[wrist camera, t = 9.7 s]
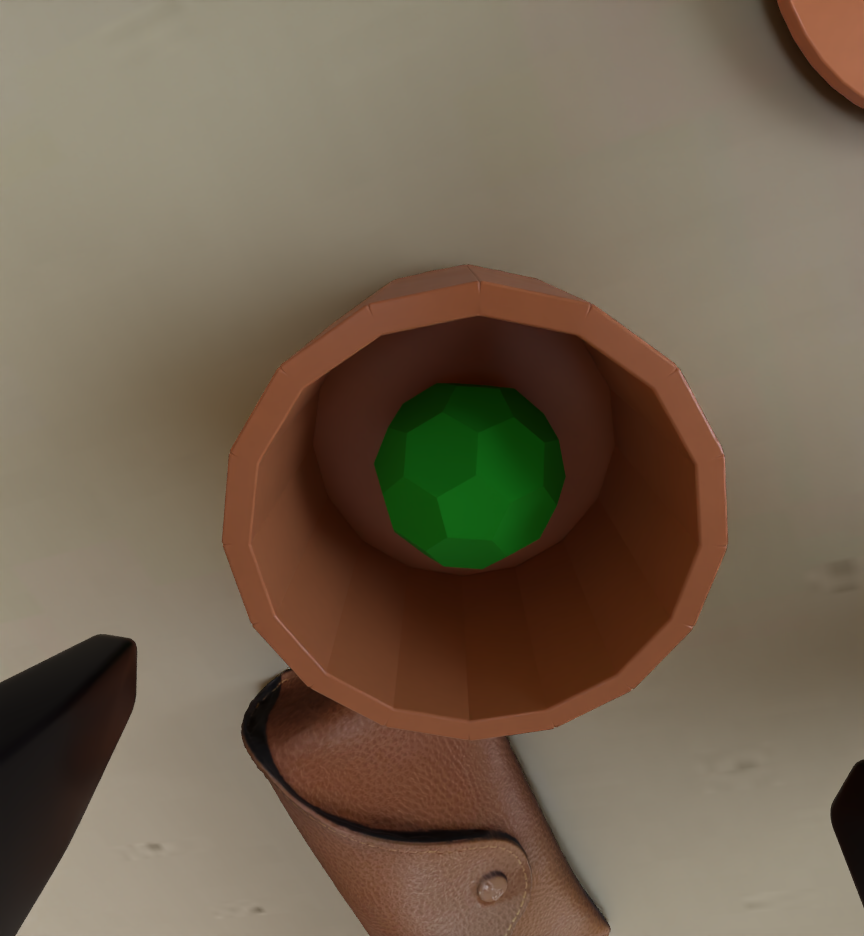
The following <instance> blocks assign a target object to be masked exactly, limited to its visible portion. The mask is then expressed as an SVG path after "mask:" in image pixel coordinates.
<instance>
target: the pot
mask: <svg viewBox="0 0 864 936" xmlns="http://www.w3.org/2000/svg"><path fill="white" fill-rule="evenodd" d="M436 383H461V384H475V385H489V386H498V387H506V388H514V389H516V390H517V391H518V392H519V393H520V394H522V395H523V396H524V397H525V398H526V399H527V400H529V401H530V402H531V403H532V404H533V405H534V406H536V407H537V408H538V409H539V410H540V411H541V412H543V413H544V415H545V416H546V418H547V420H548V422H549V423H550V425H551V427H552V429H553V430H554V432H555V434H556V436H557V437H558V439H559V443H560V449H561V454H562V459H563V465H564V470H565V475H566V478H565V481H564V484H563V488H562V491H561V494H560V497H559V501H558V504H557V507H556V509H555V510H554V512H553V514H552V516H551V518H550V520H549V522H548V524H547V526H546V528H545V530H544V531H543V533H542V535H541V537H540V539H538V540H536V541H535V542H533V543H531V544H529V545H527V546H526V547H524V548H522V549H520V550H518V551H517V552H515V553H513V554H511V555H509V556H508V557H506V558H504V559H502V560H500V561H498V562H496V563H494V564H492V565H490V566H488V567H486V568H484V569H471V568H456V567H444V566H442V565H441V564H439V563H437V562H436V561H434V560H433V559H431V558H429V557H428V556H426V555H425V554H423V553H422V552H420V551H419V550H418V549H416V548H415V547H414V546H412V545H411V544H410V543H408V542H407V541H406V540H404V539H403V538H402V537H400V536H399V535H398V534H396V533H395V532H394V530H393V527H392V524H391V520H390V517H389V514H388V511H387V507H386V504H385V501H384V497H383V494H382V491H381V487H380V484H379V480H378V477H377V473H376V470H375V466H374V462H375V459H376V456H377V454H378V451H379V449H380V446H381V444H382V441H383V439H384V436H385V434H386V431H387V428H388V426H389V425H390V423H391V422H392V420H393V419H394V417H395V415H396V414H397V412H398V411H399V409H400V407H401V406H402V404H403V403H405V402H406V401H408V400H410V399H411V398H413V397H414V396H416V395H418V394H419V393H421V392H423V391H424V390H426V389H428V388H429V387H431V386H432V385H434V384H436ZM222 543H223V548H224V551H225V553H226V556H227V559H228V562H229V564H230V567H231V570H232V573H233V575H234V578H235V581H236V584H237V586H238V589H239V592H240V595H241V597H242V600H243V603H244V606H245V608H246V611H247V614H248V617H249V619H250V622H251V624H252V626H253V627H254V628H255V630H256V631H257V632H258V633H259V634H260V635H261V636H262V637H263V638H264V639H265V640H266V642H267V643H268V644H269V645H270V646H271V647H272V648H273V649H274V650H275V651H276V652H277V654H278V655H279V656H280V657H281V658H282V659H283V660H284V661H285V662H286V663H287V665H288V666H289V667H290V668H291V669H292V670H293V671H294V672H295V673H296V674H297V675H298V677H299V678H300V679H301V680H302V681H303V682H304V683H305V684H306V685H307V686H308V687H310V688H311V689H313V690H315V691H317V692H318V693H320V694H322V695H324V696H326V697H328V698H330V699H332V700H334V701H336V702H338V703H340V704H341V705H343V706H345V707H347V708H349V709H351V710H353V711H355V712H357V713H359V714H361V715H362V716H364V717H366V718H368V719H370V720H372V721H374V722H376V723H378V724H380V725H382V726H384V725H385V726H386V727H389V728H395V729H401V730H407V731H413V732H419V733H425V734H431V735H437V736H443V737H449V738H455V739H462V740H468V739H469V740H470V741H473V740H480V739H487V738H494V737H501V736H508V735H515V734H522V733H529V732H536V731H543V730H550V729H554V727H558V726H560V725H562V724H564V723H567V722H569V721H571V720H573V719H575V718H577V717H579V716H581V715H583V714H585V713H587V712H589V711H591V710H593V709H595V708H597V707H599V706H601V705H603V704H605V703H607V702H609V701H611V700H613V699H616V698H618V697H620V696H622V695H624V694H626V693H628V692H630V691H631V689H634V688H635V687H636V686H637V685H638V684H639V683H640V682H641V681H642V680H643V679H644V678H645V677H646V676H647V675H648V674H649V673H650V672H651V671H652V670H653V669H654V668H655V667H656V666H657V665H658V664H659V663H660V662H661V661H662V660H663V659H664V658H665V657H666V656H667V655H668V654H669V653H670V652H671V651H672V650H673V649H674V648H675V647H676V646H677V645H678V644H679V643H680V642H681V641H682V640H683V639H684V638H685V637H686V636H687V635H688V634H689V633H690V631H691V630H692V629H693V626H695V624H696V622H697V619H698V617H699V614H700V612H701V610H702V607H703V605H704V602H705V600H706V598H707V595H708V593H709V590H710V588H711V586H712V583H713V581H714V578H715V576H716V574H717V571H718V569H719V566H720V564H721V562H722V559H723V557H724V554H725V552H726V550H727V546H726V545H727V544H728V530H727V501H726V472H725V456H724V454H723V449H722V447H721V445H720V443H719V441H718V439H717V437H716V436H715V434H714V432H713V430H712V428H711V426H710V424H709V422H708V421H707V419H706V417H705V415H704V413H703V411H702V409H701V408H700V406H699V404H698V402H697V400H696V398H695V396H694V394H693V393H692V391H691V389H690V387H689V385H688V383H687V381H686V379H685V378H684V376H683V374H682V372H681V370H680V369H679V368H677V366H676V364H675V363H674V362H672V361H671V360H669V359H668V358H667V357H665V356H664V355H663V354H661V353H660V352H658V351H657V350H656V349H654V348H653V347H652V346H650V345H649V344H647V343H646V342H645V341H643V340H642V339H641V338H639V337H638V336H636V335H635V334H634V333H632V332H631V331H630V330H628V329H627V328H625V327H624V326H623V325H621V324H620V323H619V322H617V321H616V320H614V319H613V318H612V317H610V316H609V315H608V314H606V313H605V312H603V311H602V310H601V309H599V308H598V307H597V306H595V305H593V304H591V303H589V302H587V301H585V300H582V299H580V298H578V297H576V296H574V295H571V294H569V293H567V292H565V291H563V290H560V289H558V288H556V287H554V286H552V285H549V284H547V283H545V282H543V281H541V280H538V279H536V278H531V277H526V276H522V275H517V274H512V273H507V272H504V271H499V270H493V269H488V268H483V267H478V266H473V265H469V264H468V265H459V266H454V267H450V268H445V269H440V270H433V271H428V272H425V273H421V274H417V275H412V276H407V277H402V278H398V279H395V280H393V281H391V282H389V283H388V284H387V285H385V286H384V287H382V288H381V289H380V290H378V291H377V292H375V293H374V294H373V295H371V296H370V297H368V298H367V299H365V300H364V301H363V302H361V303H360V304H359V305H357V306H356V307H354V308H353V309H352V310H350V311H349V312H347V313H346V314H345V315H343V316H342V317H340V318H339V319H338V320H336V321H335V322H334V323H332V324H331V325H330V326H329V327H327V328H326V329H325V330H324V331H322V332H321V333H320V334H319V335H317V336H316V337H315V338H314V339H312V340H311V341H310V342H309V343H307V344H306V345H305V346H304V347H302V348H301V349H300V350H299V351H297V352H296V353H295V354H294V355H292V356H291V357H290V358H289V359H287V360H286V361H285V362H284V363H282V364H281V366H280V367H279V368H277V370H276V372H275V373H274V375H273V377H272V379H271V380H270V382H269V384H268V385H267V387H266V389H265V391H264V392H263V394H262V396H261V398H260V399H259V401H258V403H257V405H256V406H255V408H254V410H253V412H252V413H251V415H250V417H249V418H248V420H247V422H246V424H245V425H244V427H243V429H242V431H241V432H240V434H239V436H238V438H237V439H236V441H235V443H234V445H233V446H232V448H231V450H230V454H229V459H228V471H227V484H226V496H225V509H224V521H223V533H222Z"/></svg>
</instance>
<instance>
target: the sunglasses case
mask: <svg viewBox="0 0 864 936" xmlns="http://www.w3.org/2000/svg"><path fill="white" fill-rule="evenodd" d="M241 728H242V730H241V734H242V740H243V743H244V746H245V748H246V749H247V752H248V754H249V755H250V756H251V758H252V760H253V761H254V763H255V764H256V765H257V768H258V769H259V770H260V771H262V772H263V773H264V776H265V777H266V778H267V779H268V780H269V782H270V783H271V785H272V787H273V789H274V790H275V792H276V794H277V796H278V797H279V799H280V801H281V803H282V804H283V806H284V807H285V809H286V811H287V812H288V814H289V816H290V817H291V819H292V820H293V822H294V824H295V825H296V827H297V829H298V830H299V832H300V833H301V835H302V836H303V838H304V839H305V841H306V842H307V844H308V846H309V847H310V848H311V850H312V852H313V853H314V855H315V856H316V858H317V859H318V861H319V862H320V864H321V865H322V867H323V868H324V870H325V871H326V873H327V874H328V876H329V877H330V878H331V880H332V881H333V883H334V884H335V886H336V888H337V889H338V891H339V892H340V894H341V895H342V896H343V898H344V899H345V901H346V902H347V904H348V905H349V906H350V908H351V909H352V910H353V912H354V914H355V915H356V917H357V918H358V919H359V921H360V922H361V924H362V925H363V927H364V928H365V930H366V931H367V932H368V934H369V935H370V936H608V935H609V933H610V930H611V928H610V926H609V924H608V922H607V921H606V919H605V918H604V916H603V915H602V913H601V912H600V911H599V909H598V908H597V907H596V905H595V904H594V902H593V901H592V900H591V898H590V897H589V896H588V894H587V893H586V892H585V890H584V889H583V887H582V886H581V884H580V883H579V881H578V880H577V878H576V876H575V875H574V873H573V872H572V870H571V868H570V866H569V865H568V863H567V861H566V858H565V857H564V855H563V853H562V852H561V850H560V848H559V846H558V844H557V842H556V840H555V838H554V835H553V833H552V831H551V829H550V827H549V826H548V824H547V822H546V819H545V817H544V815H543V813H542V810H541V809H540V808H539V806H538V803H537V801H536V798H535V796H534V794H533V793H532V791H531V789H530V787H529V784H528V782H527V781H526V779H525V776H524V774H523V772H522V769H521V766H520V764H519V763H518V761H517V758H516V756H515V754H514V753H513V751H512V749H511V747H510V742H509V740H508V739H507V738H506V736H501V737H494V738H487V739H480V740H473V741H470V740H469V739H468V740H462V739H455V738H449V737H443V736H437V735H431V734H425V733H419V732H413V731H407V730H401V729H395V728H389V727H386V726H385V725H384V726H382V725H380V724H378V723H376V722H374V721H372V720H370V719H368V718H366V717H364V716H362V715H361V714H359V713H357V712H355V711H353V710H351V709H349V708H347V707H345V706H343V705H341V704H340V703H338V702H336V701H334V700H332V699H330V698H328V697H326V696H324V695H322V694H320V693H318V692H317V691H315V690H313V689H311V688H310V687H308V686H307V685H306V684H305V683H304V682H303V681H302V680H301V679H300V678H299V677H298V675H297V674H296V673H295V672H294V671H293V670H292V669H290V670H286V671H284V672H283V673H282V674H281V675H279V676H278V677H276V678H275V679H274V680H272V681H271V682H270V683H268V684H267V685H266V686H265V687H264V688H263V689H262V690H261V691H260V692H259V693H258V694H257V696H256V697H255V698H254V700H252V701H251V703H250V705H249V708H248V709H247V711H246V712H245V715H244V719H243V723H242V725H241Z"/></svg>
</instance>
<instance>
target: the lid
mask: <svg viewBox="0 0 864 936" xmlns="http://www.w3.org/2000/svg"><path fill="white" fill-rule="evenodd" d="M777 2H778V5H779V8H780V12H781V14H782V16H783V18H784V20H785V22H786V24H787V26H788V28H789V30H790V32H791V35H792V37H793V39H794V41H795V42H796V44H797V45H798V47H799V48H800V50H801V51H802V52H803V54H804V55H805V57H806V58H807V60H808V61H809V63H810V64H811V66H812V67H813V68H814V69H815V70H816V71H817V72H818V73H819V74H820V75H821V76H822V77H823V78H824V79H825V80H826V82H827V83H828V84H829V85H830V86H831V87H832V88H834V89H835V90H836V91H838V92H839V93H840V94H842V95H843V96H844V97H846V98H847V99H848V100H850V101H851V102H852V103H854V104H855V105H857V106H859V107H861V108H863V109H864V0H777Z"/></svg>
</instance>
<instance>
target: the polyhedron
mask: <svg viewBox="0 0 864 936" xmlns="http://www.w3.org/2000/svg"><path fill="white" fill-rule="evenodd" d="M374 466H375V470H376V473H377V477H378V480H379V484H380V487H381V491H382V494H383V497H384V501H385V504H386V507H387V511H388V514H389V517H390V520H391V524H392V527H393V530H394V532H395V533H396V534H398V535H399V536H400V537H402V538H403V539H404V540H406V541H407V542H408V543H410V544H411V545H412V546H414V547H415V548H416V549H418V550H419V551H420V552H422V553H423V554H425V555H426V556H428V557H429V558H431V559H433V560H434V561H436V562H437V563H439V564H441V565H442V566H444V567H456V568H471V569H484V568H486V567H488V566H490V565H492V564H494V563H496V562H498V561H500V560H502V559H504V558H506V557H508V556H509V555H511V554H513V553H515V552H517V551H518V550H520V549H522V548H524V547H526V546H527V545H529V544H531V543H533V542H535V541H536V540H538V539H540V537H541V535H542V533H543V531H544V530H545V528H546V526H547V524H548V522H549V520H550V518H551V516H552V514H553V512H554V510H555V509H556V507H557V504H558V501H559V497H560V494H561V491H562V488H563V484H564V481H565V478H566V475H565V470H564V465H563V459H562V454H561V449H560V443H559V439H558V437H557V436H556V434H555V432H554V430H553V429H552V427H551V425H550V423H549V422H548V420H547V418H546V416H545V415H544V413H543V412H541V411H540V410H539V409H538V408H537V407H536V406H534V405H533V404H532V403H531V402H530V401H529V400H527V399H526V398H525V397H524V396H523V395H522V394H520V393H519V392H518V391H517V390H516V389H514V388H506V387H498V386H489V385H475V384H461V383H436V384H434V385H432V386H431V387H429V388H428V389H426V390H424V391H423V392H421V393H419V394H418V395H416V396H414V397H413V398H411V399H410V400H408V401H406V402H405V403H403V404H402V406H401V407H400V409H399V411H398V412H397V414H396V415H395V417H394V419H393V420H392V422H391V423H390V425H389V426H388V428H387V431H386V434H385V436H384V439H383V441H382V444H381V446H380V449H379V451H378V454H377V456H376V459H375V462H374Z"/></svg>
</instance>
